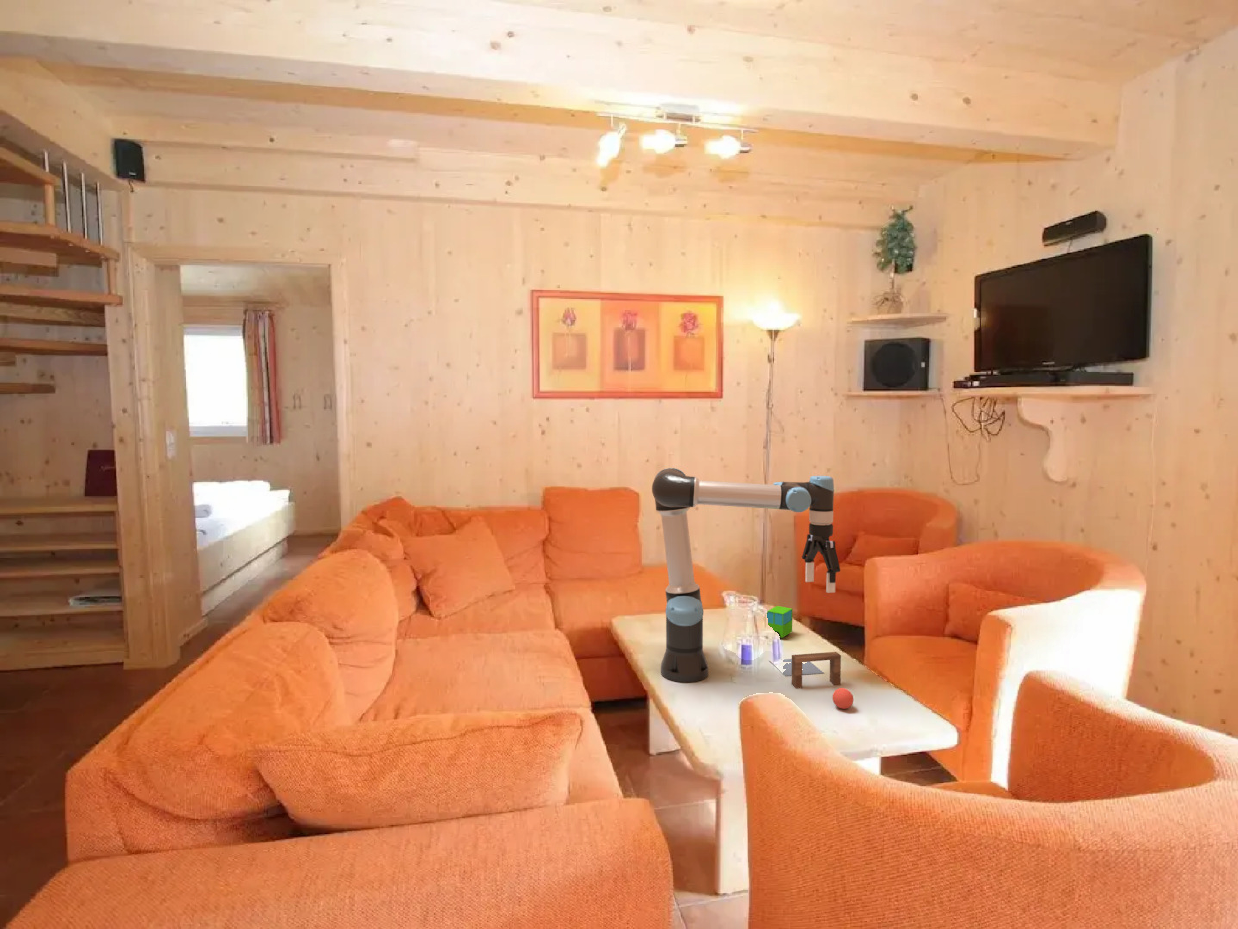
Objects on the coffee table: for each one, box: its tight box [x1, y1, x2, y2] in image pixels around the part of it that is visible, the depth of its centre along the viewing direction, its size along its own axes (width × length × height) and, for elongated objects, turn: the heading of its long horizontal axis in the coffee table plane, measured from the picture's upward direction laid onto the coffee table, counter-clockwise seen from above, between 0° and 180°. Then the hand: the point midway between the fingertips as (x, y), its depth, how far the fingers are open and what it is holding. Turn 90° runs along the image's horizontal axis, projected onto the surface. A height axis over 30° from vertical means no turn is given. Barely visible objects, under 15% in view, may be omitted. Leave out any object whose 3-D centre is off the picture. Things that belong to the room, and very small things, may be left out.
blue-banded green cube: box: [766, 605, 793, 639], centre depth 242 cm, size 10×13×10 cm
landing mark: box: [782, 658, 825, 677], centre depth 210 cm, size 13×13×1 cm
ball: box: [832, 687, 854, 710], centre depth 180 cm, size 6×6×6 cm
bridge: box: [790, 651, 842, 689], centre depth 196 cm, size 3×14×9 cm, turn 100°
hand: (819, 586), depth 212 cm, fingers open, 13 cm apart
